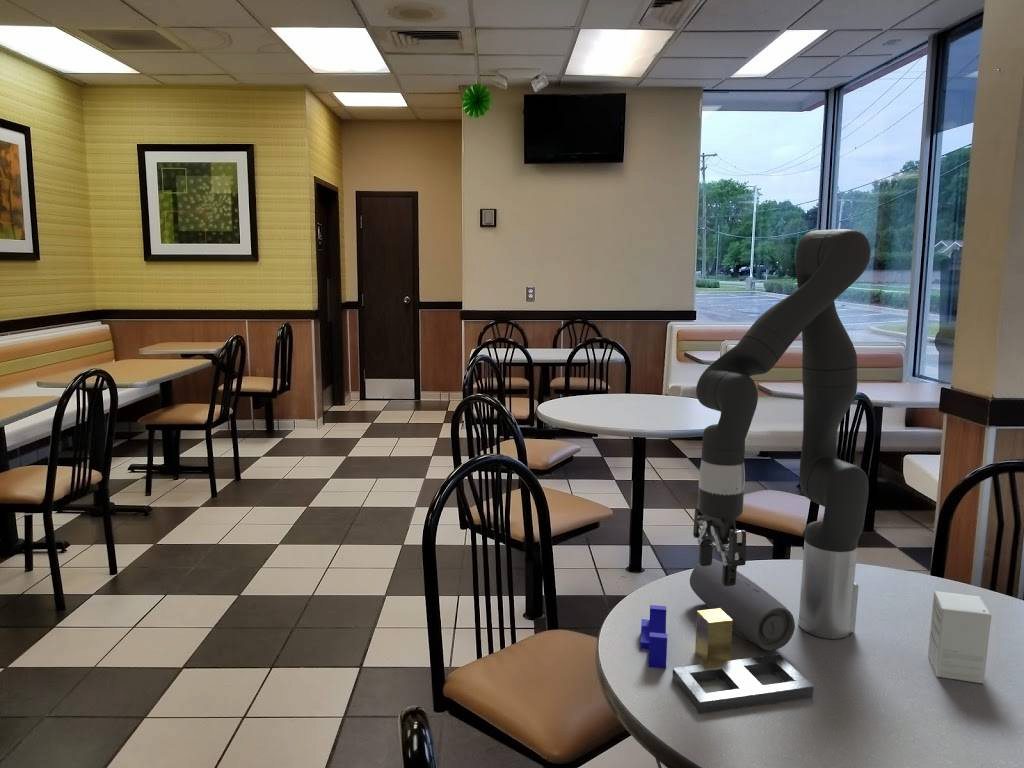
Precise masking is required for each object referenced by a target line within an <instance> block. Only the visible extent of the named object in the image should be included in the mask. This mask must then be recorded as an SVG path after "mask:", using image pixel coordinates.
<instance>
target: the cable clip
mask: <svg viewBox="0 0 1024 768" xmlns="http://www.w3.org/2000/svg"><path fill="white" fill-rule="evenodd" d="M640 621H641V624H640V626H641V627H640V650H648V668H649V669H650V668H651V669H653V668H654V669H661V670H662V669H664V670H666V669H667V654H668V653H667V652H668V651H667V650H668V633H667V605H658V604H657V605H655V604H654V605H653V604H650V605H649V619H646V618H645V619H644V618H641V620H640Z"/></svg>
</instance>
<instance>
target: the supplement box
mask: <svg viewBox="0 0 1024 768" xmlns="http://www.w3.org/2000/svg"><path fill="white" fill-rule="evenodd" d="M931 611H932V612H931V619H930V620H931V622H930V631H929V641H928V649H927V657H928V659H929V661H930V664H931V666H932V669H933V672H934V674H935V676H936V678H937V677H938V678H944V679H949V680H950V679H951V680H958V681H964V682H971V683H977V684H984V681H985V677H986V676H985V674H986V666H987V659H988V658H987V657H988V648H989V640H990V632H991V631H990V630H991V621H992V614H991V612H990V611H989V609H988V607H987V606H986V604H985V603H984V601H983V600H982V598H981V596H979V595H971V594H970V595H969V594H963V593H955V592H953V593H952V592H945V591H939V590H938V591H937V590H934V591H933V601H932V610H931Z"/></svg>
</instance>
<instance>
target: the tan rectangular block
mask: <svg viewBox="0 0 1024 768" xmlns="http://www.w3.org/2000/svg"><path fill="white" fill-rule="evenodd" d="M732 622H733V620H732V619H731V618H730V617H729V616H728V615H727V614H726V613H725V612H724V611H722V610H721V609H720V608H718V609H710V608H708V609H702V610H696V624H695V625H696V626H695V643H694V644H695V646H694V648H695V649H694V652H695V654H696V655H697V656H698V657H699V659H701V660H702V661H703V663H704V662H705V663H704V664H708V663H716V662H724V661H731V656H732V640H733V639H732V636H733V634H732V633H733V630H732Z"/></svg>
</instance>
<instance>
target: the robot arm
mask: <svg viewBox="0 0 1024 768" xmlns="http://www.w3.org/2000/svg"><path fill="white" fill-rule="evenodd" d="M795 251H796V252H795V258H794V259H795V260H794V262H795V264H794V265H795V275H796V283H797V284H796V285H797V289H796V290H795V291H793V292H792V293H790V294H789V295H788V296H786V297H784V298H783V299H781V300H780V301H779V302H777V303H776V304H774V305H773V306H771V307H770V308H769V309H767V310H766V311H765V312H764V313H763V314H761V315H760V316H759V317H758V318H757V319H756V320H755V321H754V323H753V324H752V325H751V326H750V328H749V329H748V330H747V331H746V332H745V334H744V335H743V336H742V338H741V339H740V340H739V341H738V342H737V344H735V346H734V347H732V348H730V349H728V350H727V351H726V352H725V353H723V354H722V355H721V356H720V357H719V358H717V359H716V360H715V361H713V362H712V363H711V364H710V365H709V366H707V368H706V369H705V370H704V371H703V372H702V374H701V376H699V379H698V381H697V383H696V389H695V393H696V398H697V401H698V402H699V403H700V404H701V405H702V406H703V407H705V408H707V409H711V410H714V411H718V412H720V417H719V419H718V422H717V424H716V423H715V424H714V423H713V424H711V425H708V426H706V427H705V428H704V430H703V434H702V441H701V442H702V443H701V460H700V466H699V473H698V474H699V475H698V494H697V495H698V497H697V506H695V509H694V519H693V520H694V521H693V529H692V530H693V531H692V536H693V538H694V539H697V544H698V545H699V553H698V554H699V556H698V563H699V564H700V565H701V566H710V565H711V564H712V559H713V551H714V550H713V549H714V546H713V545H712V544H713V543H714V544H715V546H716V547H715V548H716V551H717V553H719V554H720V555H721V560H722V563H723V572H722V584H723V585H724V586H733V585H735V584H736V572H738V571H737V569H738V567H742V566H745V565H746V561H747V559H746V557H747V556H746V555H747V554H746V553H747V552H746V551H747V531H746V530H744V529H741V530H738V529H737V526H736V525H737V524H736V519H737V518H738V517H740V516H741V515H742V514H743V512H744V499H745V498H744V497H745V478H746V472H745V471H746V470H745V454H746V453H745V452H746V438H747V435H748V432H749V430H750V427H751V424H752V421H753V419H754V416H755V412H756V409H757V406H758V401H759V400H758V399H759V394H758V393H759V392H758V388H757V385H756V383H755V381H754V380H753V378H752V376H758V375H764V374H767V373H768V372H769V371H771V370H772V369H773V368H774V367H775V365H776V364H777V363H778V361H779V360H780V359H781V357H783V355H784V354H785V353H786V351H787V350H788V349H789V347H790V346H791V345H792V344H793V342H794V341H795V340H796V339H797V338H798V336H799V335H800V334H801V341H802V343H801V344H802V356H801V357H802V358H801V359H802V360H801V361H802V362H801V364H802V365H801V367H802V368H801V371H802V372H801V373H802V376H801V377H802V394H803V397H802V398H803V399H802V401H803V408H802V409H803V410H802V411H803V413H802V426H803V427H802V440H801V441H802V442H801V452H800V463H799V486H800V489H801V492H802V494H803V495H804V497H806V498H807V499H808V500H809V501H812V502H813V503H814V504H817V505H820V506H822V507H824V512H823V518H822V520H816V521H815V520H814V521H811V522H809V523H807V525H806V526H805V530H804V543H803V557H802V569H801V570H802V572H801V584H800V596H799V610H798V611H799V612H798V625H799V627H800V628H801V629H802V630H803V631H804V632H806V633H808V634H811V635H813V636H815V637H819V638H823V639H829V640H830V639H831V640H832V639H833V640H834V639H835V640H836V639H843V638H847V636H849V635H850V634H851V633H855V631H856V624H857V623H856V620H857V610H858V608H857V607H858V601H859V600H858V597H859V588H860V587H859V584H858V583H856V581H855V579H856V567H857V554H858V545H859V544H858V543H859V539H860V536H861V535H862V533H863V531H864V526H865V522H866V521H865V519H866V512H867V507H868V499H869V488H870V487H869V479H868V477H867V474H866V472H865V471H864V470H863V468H861V467H859V466H858V465H856V464H853V463H850V462H847V461H845V460H841V459H839V458H838V449H837V445H838V444H837V438H838V437H837V436H838V431H839V427H840V424H841V422H842V420H843V419H844V417H845V415H846V414H847V412H848V411H849V409H850V408H851V405H852V404H853V402H854V400H855V398H856V396H857V391H858V356H857V352H856V348H855V346H854V344H853V342H852V339H851V337H850V336H849V334H848V331H847V330H846V328H845V326H844V324H843V323H842V321H841V318H840V317H839V314H838V312H837V307H836V302H835V300H837V298H838V297H840V296H841V295H842V294H843V293H844V292H845V291H846V290H847V289H849V287H850V286H852V285H853V284H854V283H855V282H857V280H858V279H859V278H860V277H861V276H862V275H863V273H865V270H866V269H867V268H868V265H869V263H870V259H871V251H872V250H871V245H870V242H869V240H868V237H866V235H865V234H864V233H862V232H861V231H858V230H856V229H850V228H849V229H848V228H847V229H846V228H839V229H835V228H834V229H817V230H810V231H809V232H807V233H805V234H804V235H803V236H802V237H801V238H800V240H799V242H798V244H797V246H796V250H795ZM700 527H701V528H700Z"/></svg>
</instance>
